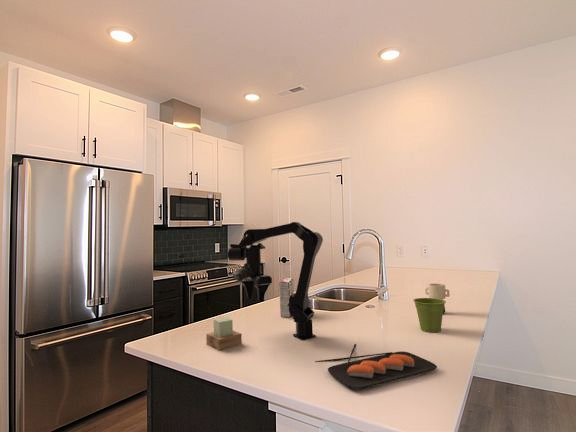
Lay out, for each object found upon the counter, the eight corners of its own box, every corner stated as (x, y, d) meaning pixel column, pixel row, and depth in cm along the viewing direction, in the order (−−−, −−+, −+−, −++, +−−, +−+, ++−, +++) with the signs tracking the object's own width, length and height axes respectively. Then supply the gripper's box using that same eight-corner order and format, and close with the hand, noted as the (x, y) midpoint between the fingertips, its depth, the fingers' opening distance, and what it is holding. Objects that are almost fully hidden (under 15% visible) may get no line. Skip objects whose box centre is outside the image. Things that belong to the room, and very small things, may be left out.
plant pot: (451, 329, 130) (450, 299, 131) (441, 336, 122) (439, 305, 122) (421, 323, 138) (420, 296, 139) (409, 330, 130) (407, 301, 130)
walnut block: (241, 345, 119) (241, 333, 119) (219, 351, 113) (219, 339, 113) (228, 339, 126) (228, 328, 126) (206, 345, 120) (206, 333, 120)
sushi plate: (353, 397, 81) (353, 381, 81) (299, 356, 108) (299, 344, 108) (442, 373, 92) (441, 359, 92) (373, 341, 120) (372, 330, 120)
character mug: (453, 313, 154) (451, 284, 154) (447, 316, 149) (446, 286, 149) (429, 309, 161) (427, 282, 162) (423, 312, 156) (421, 284, 157)
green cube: (232, 334, 119) (232, 319, 120) (219, 336, 117) (219, 322, 117) (226, 330, 123) (226, 317, 124) (213, 333, 121) (213, 319, 121)
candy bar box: (284, 311, 165) (284, 278, 166) (294, 311, 164) (293, 278, 165) (279, 317, 154) (278, 281, 155) (290, 317, 153) (289, 281, 154)
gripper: (225, 260, 138) (226, 299, 137) (245, 263, 122) (247, 307, 121) (249, 258, 144) (250, 295, 143) (272, 261, 128) (273, 302, 127)
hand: (254, 299), depth 134 cm, fingers open, 9 cm apart
